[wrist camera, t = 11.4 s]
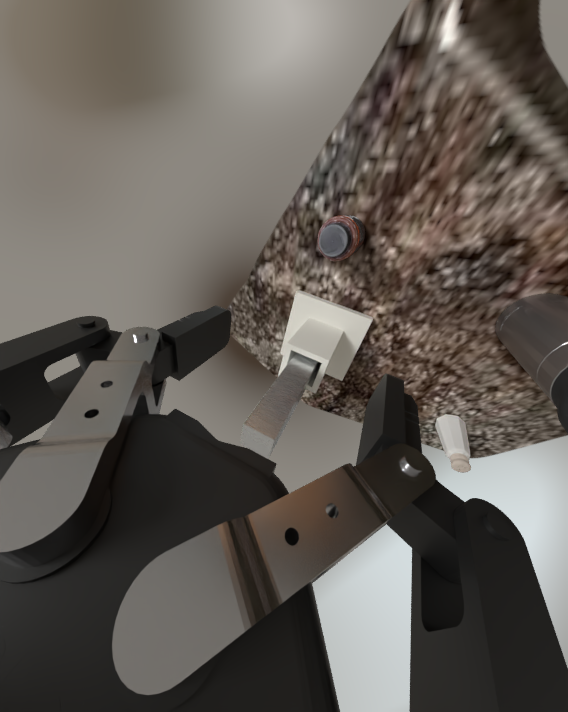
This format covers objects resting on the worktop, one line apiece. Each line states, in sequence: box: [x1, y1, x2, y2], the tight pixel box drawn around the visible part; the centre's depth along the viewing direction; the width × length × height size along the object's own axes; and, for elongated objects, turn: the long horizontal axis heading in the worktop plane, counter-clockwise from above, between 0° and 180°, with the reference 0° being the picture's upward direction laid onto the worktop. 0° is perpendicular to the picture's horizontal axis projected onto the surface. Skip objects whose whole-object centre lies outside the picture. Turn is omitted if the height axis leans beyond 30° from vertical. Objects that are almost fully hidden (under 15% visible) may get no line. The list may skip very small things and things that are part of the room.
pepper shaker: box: [435, 414, 471, 472], centre depth 45 cm, size 5×5×11 cm
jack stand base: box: [278, 290, 373, 393], centre depth 45 cm, size 16×16×15 cm
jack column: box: [240, 352, 319, 459], centre depth 36 cm, size 4×4×22 cm
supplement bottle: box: [318, 216, 365, 261], centre depth 35 cm, size 6×6×11 cm
